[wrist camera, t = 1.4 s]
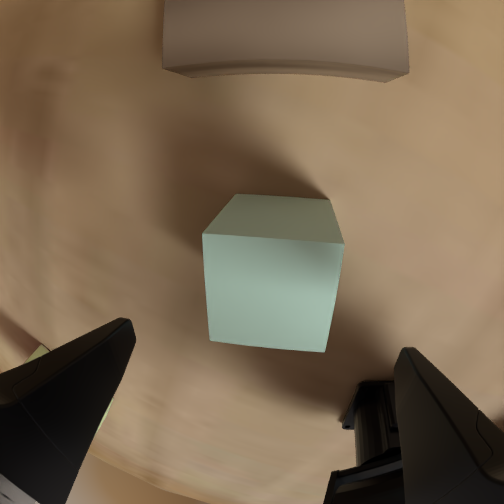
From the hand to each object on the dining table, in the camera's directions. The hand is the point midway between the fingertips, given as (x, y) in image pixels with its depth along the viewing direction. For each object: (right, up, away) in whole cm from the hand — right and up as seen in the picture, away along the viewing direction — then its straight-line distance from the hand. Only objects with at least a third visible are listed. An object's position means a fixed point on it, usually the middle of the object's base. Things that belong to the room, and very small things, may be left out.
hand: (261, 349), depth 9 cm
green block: (+1, +4, +8) cm, 9 cm away
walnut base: (+1, +16, +2) cm, 17 cm away
